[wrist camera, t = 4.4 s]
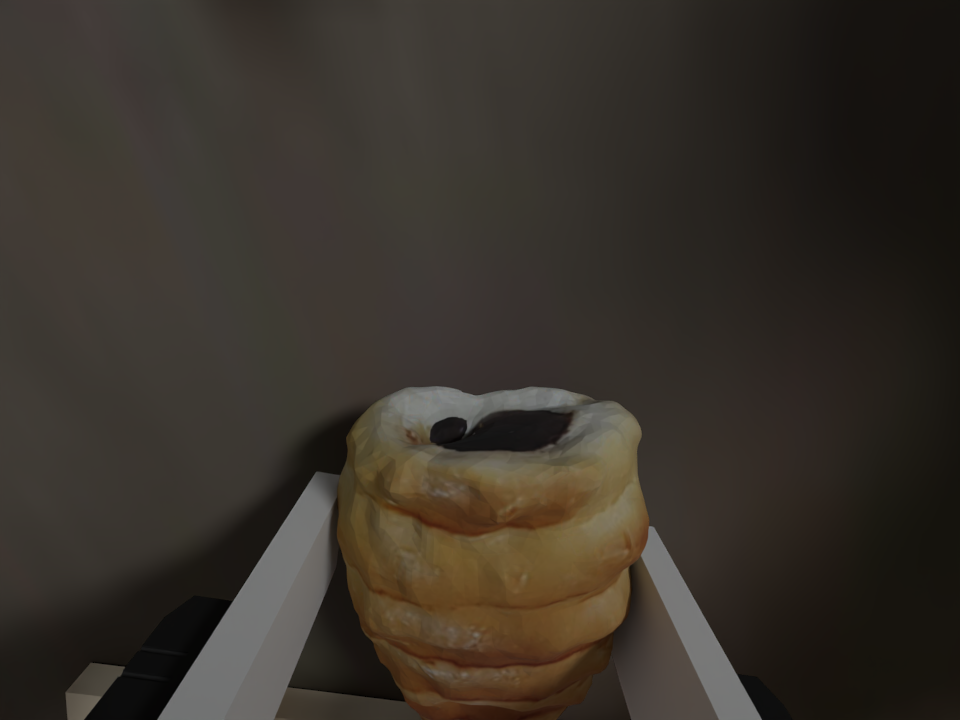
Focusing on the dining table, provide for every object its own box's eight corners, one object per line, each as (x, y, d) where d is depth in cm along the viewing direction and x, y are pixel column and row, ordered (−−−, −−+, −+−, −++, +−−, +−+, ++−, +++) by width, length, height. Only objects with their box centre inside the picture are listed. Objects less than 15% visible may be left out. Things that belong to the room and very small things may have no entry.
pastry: (603, 674, 14) (645, 841, 10) (374, 675, 14) (334, 840, 10) (628, 372, 11) (700, 450, 7) (342, 375, 11) (271, 454, 7)
